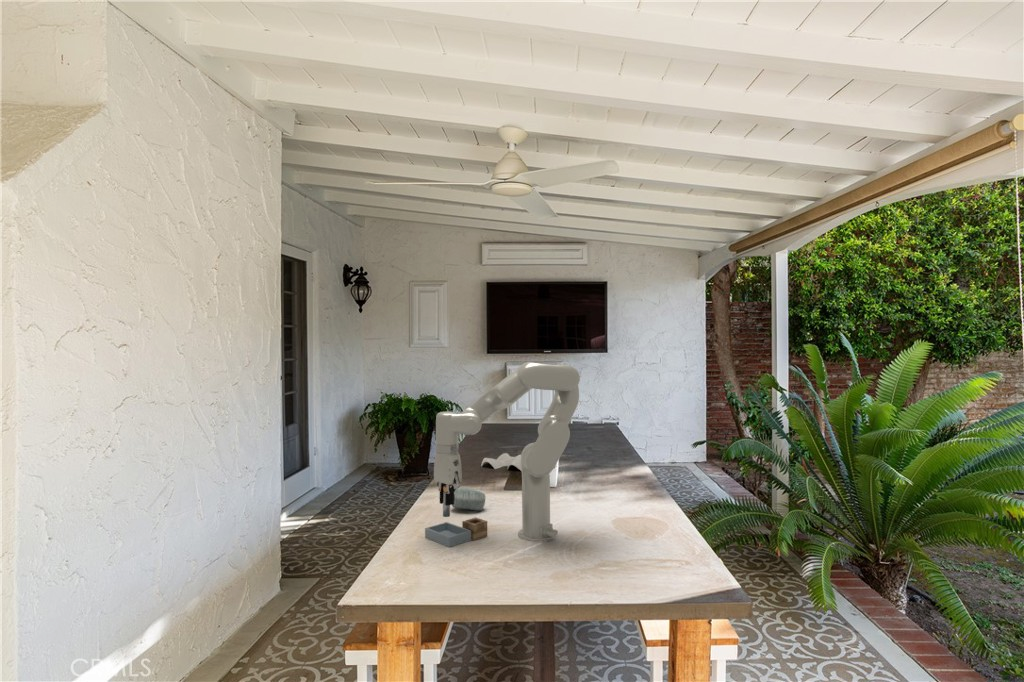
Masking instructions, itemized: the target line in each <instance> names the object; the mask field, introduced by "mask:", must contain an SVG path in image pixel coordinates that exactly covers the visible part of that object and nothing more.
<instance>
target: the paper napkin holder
mask: <svg viewBox="0 0 1024 682" xmlns="http://www.w3.org/2000/svg"><path fill="white" fill-rule="evenodd" d="M521 454H522V453H521ZM521 454H518V455H516V456H510V454H509V453H508V452H504V453H502V454H500V455H499V456H498V457H497V458H496V459H495V458H491V457H484V458H483V460H482V461H481V465H480V466H481V467H483V466H484V464H485V463H489V464H490V465H491V467H493V469H494V470H497V469H500V468H502V467H507V468H506V469H507V470H508V469H509V468H510V466H514V467H516V468H517V469H518V470H520V471H521V472H522V470H521Z"/></svg>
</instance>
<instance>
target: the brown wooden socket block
mask: <svg viewBox="0 0 1024 682" xmlns="http://www.w3.org/2000/svg"><path fill="white" fill-rule="evenodd" d="M461 524H462V526H461V527H462V528H465V529H468V530H471V541H472V540H473V541H476V540H480V539H482V538H486V537H488V520H485V519H482V518H478V517H471V518H469V519H466V520H462V522H461Z"/></svg>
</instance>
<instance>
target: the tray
mask: <svg viewBox="0 0 1024 682" xmlns="http://www.w3.org/2000/svg"><path fill="white" fill-rule="evenodd" d="M424 538H425V539H428V540H431V541H433V542H436V543H438V544H440V545H443V546H446V547H448V548H451V547H455V546H458V545H460V544H464V543H467V542H469V541H472V539H471V530H468V529H465V528H462V526H460V525H457V524H454V523H451V522H448V521H446V522H442V523H438V524H435V525H432V526H428V527H425V528H424Z"/></svg>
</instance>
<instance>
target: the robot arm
mask: <svg viewBox="0 0 1024 682" xmlns="http://www.w3.org/2000/svg"><path fill="white" fill-rule="evenodd" d="M580 379H581V376H580V373H579V371H578V370H577V368H576V367H574V366H572V365H570V364H569V365H567V364H549V363H538V362H533V361H527V362H524V363H522V364H520V366H518V367H517V368H516V369H514V371H512V372H511V373H510V374H508V375H507V376H506V377H505V378H503V379H502V380H501V381H500V382H498V383H497V384H496V385H495V386H493V387H492V388H491V389H490V390H488V391H487V392H485V394H483V395H481V396H480V397H479V398H477V399H476V400H475V401H474V402H472V403H471V404H470V405H469V406H468V407H467V408H465V409H464V410H462V412H461V413H457V412H455V411H440V412H438V413H437V414H436V416H435V417H436V419H435V455H434V461H433V462H434V463H433V481H434V482H435V483H436V485H437V487H438V488H437V489H438V490H437V491H438V492H439V504H441V505H443V486H444V485H447V493H446V494H445V505H446V506H448V505H450V506H452V504H454V493H455V490H456V489H458V488H460V487H461V485H460V483H462V481H463V474H462V473H463V472H462V471H463V470H462V460H461V454H460V453H459V435H466V436H473V435H476V434H477V433H479V432H480V430H481V429H482V426H483V425H482V424H483V423H484V422H485V421H486V420H488V418H490V417H492V416H493V415H495V414H496V413H498V412H499V411H501V410H506V409H508V408H509V407H511V406H512V405H514V404H515V403H516V402H517V401H518V400H519V399H521V398H523V396H524V395H526V394H528V392H529V391H531V390H532V389H535V390H544V391H554V396H553V398H552V401H551V403H550V405H549V406H548V408H547V411H546V412H545V414H544V415H543V417H542V419H541V421H540V422H539V424H538V426H537V433H538V436H537V438H536V441H535V442H531V443H528V444H527V445H525V446H524V448H523V449H522V451H521V470H522V471H521V482H522V483H521V495H522V496H521V497H522V498H521V500H522V501H521V503H522V504H521V505H522V507H521V508H522V511H521V512H522V513H521V515H522V521H521V522H522V523H521V525H522V527H521V529H519V531H518V532H517V536H518V538H520V539H521V540H525V541H528V542H543V543H545V542H548V541H549V542H550V541H551V540H553V539H555V538H556V536H557V535H558V534H559V531H558V530H557V529H553V528H554V527H553V524H552V523H551V479H550V477H551V475H550V474H551V473H552V471H554V469H555V467H556V465H557V464H558V462H559V460H560V458H561V456H562V454H563V453H564V451H565V449H566V447H567V445H568V443H569V441H570V437H571V430H570V427H569V424H570V422H571V420H572V418H573V416H574V414H575V412H576V409H577V407H578V405H579V401H580V388H579V384H580V381H581V380H580Z"/></svg>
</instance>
